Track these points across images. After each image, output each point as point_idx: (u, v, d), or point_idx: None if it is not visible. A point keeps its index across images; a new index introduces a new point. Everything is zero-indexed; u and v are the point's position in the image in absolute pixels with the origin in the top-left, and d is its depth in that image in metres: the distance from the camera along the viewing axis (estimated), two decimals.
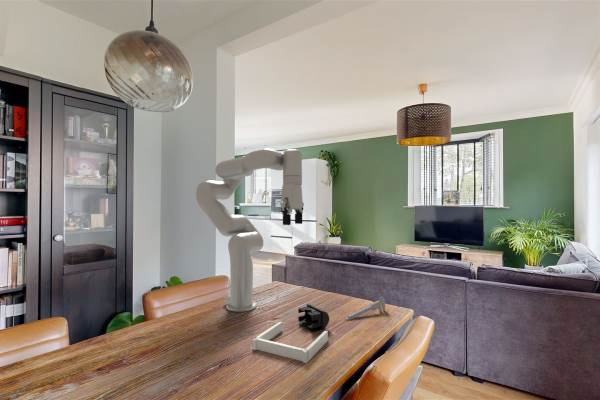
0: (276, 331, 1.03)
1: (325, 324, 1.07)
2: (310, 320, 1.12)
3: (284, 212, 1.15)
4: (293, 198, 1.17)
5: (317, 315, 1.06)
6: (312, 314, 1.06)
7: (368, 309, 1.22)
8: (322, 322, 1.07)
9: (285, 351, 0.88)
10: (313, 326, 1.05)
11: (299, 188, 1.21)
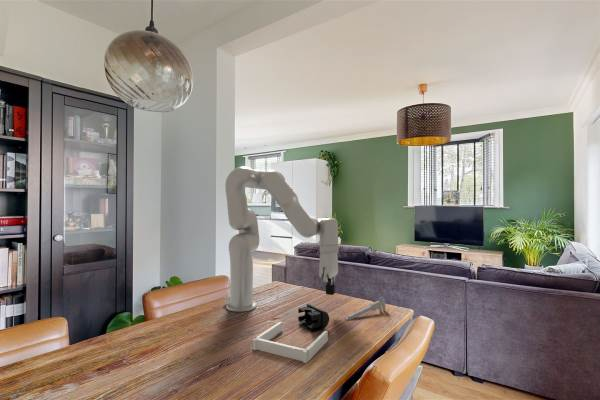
0: (276, 331, 1.03)
1: (325, 324, 1.07)
2: (310, 320, 1.12)
3: (328, 283, 1.22)
4: (331, 268, 1.20)
5: (317, 315, 1.06)
6: (312, 314, 1.06)
7: (368, 309, 1.22)
8: (322, 322, 1.07)
9: (285, 351, 0.88)
10: (313, 326, 1.05)
11: (336, 255, 1.24)
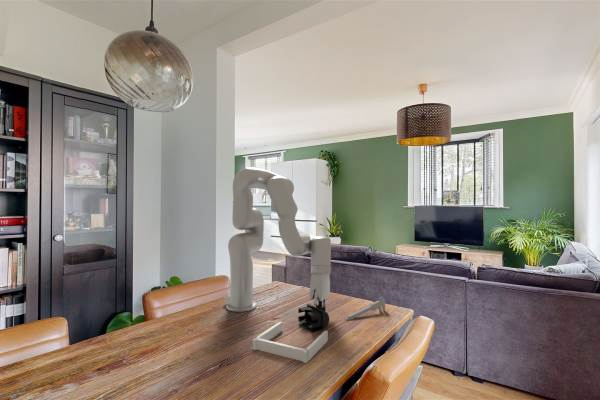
0: (276, 331, 1.03)
1: (325, 324, 1.07)
2: (310, 320, 1.12)
3: (318, 306, 1.15)
4: (322, 290, 1.13)
5: (317, 315, 1.06)
6: (312, 314, 1.06)
7: (368, 309, 1.22)
8: (322, 322, 1.07)
9: (285, 351, 0.88)
10: (313, 326, 1.05)
11: (328, 276, 1.17)
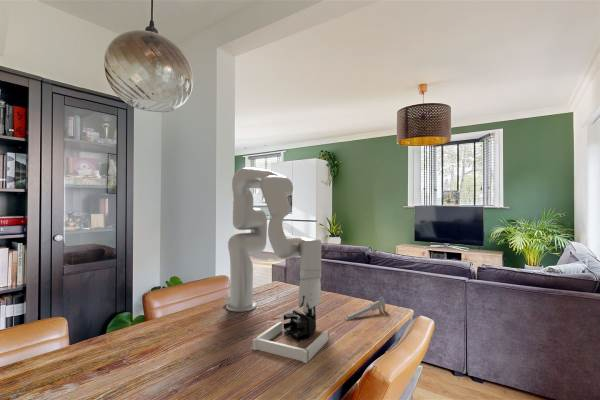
0: (276, 331, 1.03)
1: (312, 332, 1.00)
2: (296, 327, 1.05)
3: (308, 313, 1.06)
4: (312, 297, 1.04)
5: (303, 322, 0.99)
6: (297, 321, 0.99)
7: (368, 309, 1.22)
8: (308, 330, 1.00)
9: (285, 351, 0.88)
10: (298, 334, 0.98)
11: (318, 281, 1.09)
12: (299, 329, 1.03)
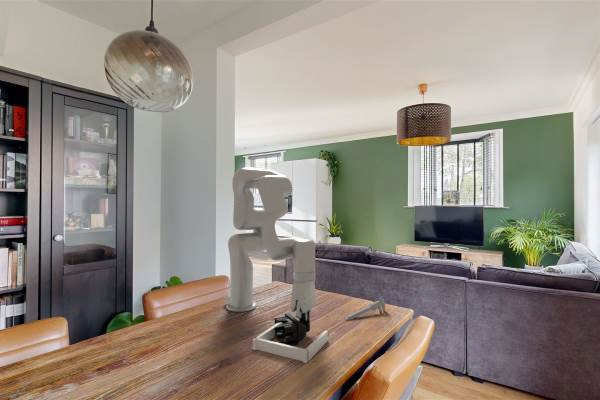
0: None
1: (301, 337, 0.96)
2: None
3: (301, 318, 1.01)
4: (305, 301, 0.99)
5: (292, 327, 0.95)
6: (286, 326, 0.95)
7: (368, 309, 1.22)
8: (298, 335, 0.96)
9: (285, 351, 0.88)
10: (287, 339, 0.94)
11: (312, 284, 1.04)
12: (290, 334, 1.00)
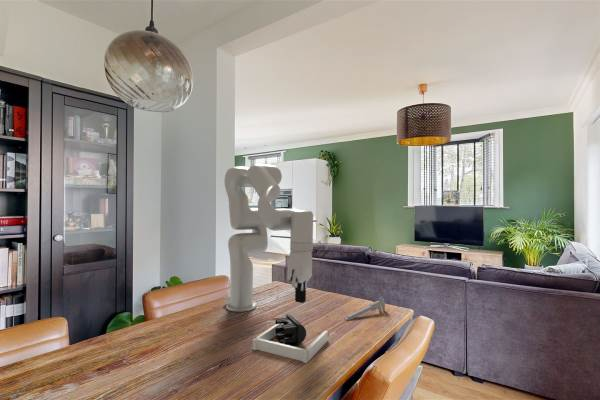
0: None
1: (301, 339, 0.95)
2: None
3: (297, 289, 1.01)
4: (301, 271, 0.98)
5: (291, 329, 0.94)
6: (285, 327, 0.94)
7: (368, 309, 1.22)
8: (297, 337, 0.95)
9: (285, 351, 0.88)
10: (286, 341, 0.94)
11: (309, 255, 1.03)
12: (290, 335, 0.99)
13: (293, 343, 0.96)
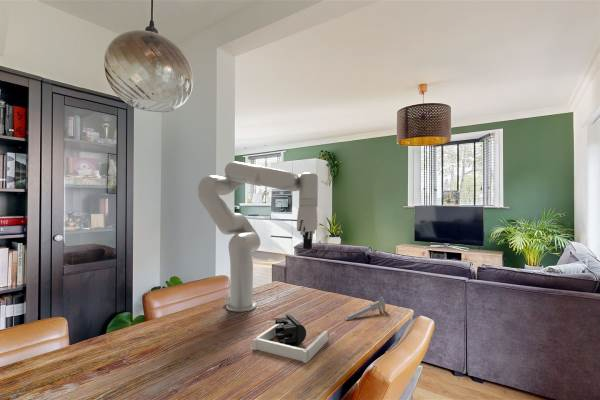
0: None
1: (301, 339, 0.95)
2: None
3: (305, 237, 1.22)
4: (308, 221, 1.20)
5: (291, 328, 0.94)
6: (285, 327, 0.94)
7: (368, 309, 1.22)
8: (297, 337, 0.95)
9: (285, 351, 0.88)
10: (286, 341, 0.94)
11: (314, 210, 1.24)
12: (290, 335, 0.99)
13: (293, 343, 0.96)
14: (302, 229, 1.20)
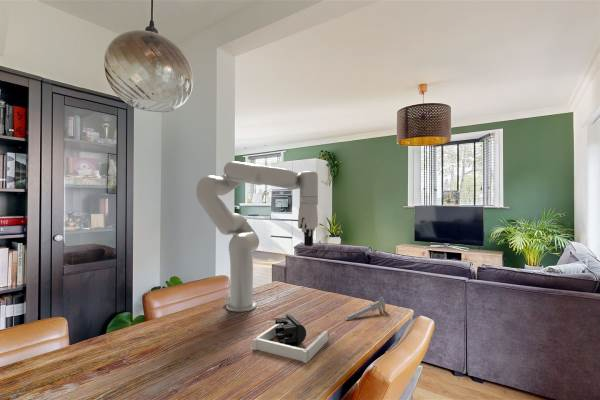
0: None
1: (301, 339, 0.95)
2: None
3: (306, 234, 1.24)
4: (309, 218, 1.22)
5: (291, 328, 0.94)
6: (285, 327, 0.94)
7: (368, 309, 1.22)
8: (297, 337, 0.95)
9: (285, 351, 0.88)
10: (286, 341, 0.94)
11: (315, 208, 1.26)
12: (290, 335, 0.99)
13: (293, 343, 0.96)
14: (303, 226, 1.22)
